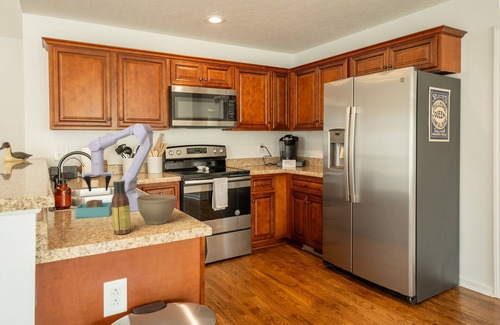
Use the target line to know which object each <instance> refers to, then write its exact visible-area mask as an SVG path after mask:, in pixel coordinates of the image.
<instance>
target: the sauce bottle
mask: <svg viewBox="0 0 500 325" xmlns="http://www.w3.org/2000/svg"><path fill="white" fill-rule="evenodd" d="M112 183H113V184H112V185H113V188H114V189H113V190H114V191H113V193H114V194H113V196H112V198H111V202H112V213H111V214H112V229H113V233H114V235H118V234H119V235H121V236H122V235H127V234H129V233H131V231H132V230H131V228H132V225H131V223H132V222H131V211H130V206H129V199H128V197H127V195H126V193H125V181H124V180H121V179H118V180H113V182H112Z"/></svg>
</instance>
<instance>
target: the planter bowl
mask: <svg viewBox="0 0 500 325" xmlns="http://www.w3.org/2000/svg"><path fill="white" fill-rule="evenodd" d="M176 200H177V196H176V195H174V194H167V193H166V194H164V193H163V194H162V193H155V194H144V195H139V197H137V203H138V209H139V213H140V216H141V217H142V218H143V219H144V223H145V224H147V225H162V224H167V223H168V222H169V220H170V218H171V217H172V215H173V213H174V210H175V208H176Z"/></svg>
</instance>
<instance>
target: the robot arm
mask: <svg viewBox="0 0 500 325" xmlns="http://www.w3.org/2000/svg"><path fill="white" fill-rule="evenodd" d="M154 133H155V132H154V130H153V128H152V126H151V125H149V124H146V123H145V124H142V123H136V124H132V125H130V126H128V127H127V128H124V129H123V130H120V131H118V132H116V133H115V134H114V133H112V132H111V133H109V132H107V133H105V135H104V136H101V137H99V136H98V137H97V139H91V140H90V141H89V142H88V144H87V147H88V150H89V151H90V162H91V167H90V168H91V172H81V178H83V180H84V181H85V183H86V186H87V188H88V192H92V178H93V177H94V178H95V177H104V180H105V181H104V182H105V192H107V191H108V188H109V184H110V181H111V179H112V177H114V171H108V172H107V171H105V162H104V161H105V160H104V152H105V150H106V149H107V148H110V147H112V146H114V145H116V144H117V142H118V141H119V140H122V139H124V138H128V137H129V136H134V137H135V138H136V139H137V140H138V143H139V147H138V149H137V151H136V154H135V155H134V158H133V159H132V161H131V163H130V165H129V167H128V169H127V171H126V173H125V174H124V175H122V177H121V179H120V180H124V181H125V193H126V195H127V197H128V199H129V206H130V212H138V211H139V209H138V203H137V197H139V196H140V192H137V191H135V190H136V188H137V186H138V185H137V184H138V181H139V177H138V175H139V174H140V172H141V170H142V168H143V166H144V163H145V162H146V160H147V158H148V156H149V154H150V152H151V151H152V150H151V149H152V148H153V145H154V142H153V140H154V139H153V137H154Z"/></svg>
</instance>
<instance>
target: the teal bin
mask: <svg viewBox="0 0 500 325" xmlns="http://www.w3.org/2000/svg"><path fill="white" fill-rule="evenodd" d="M74 211H75V216H74V217H75V219H90V218H91V219H92V218H104V217H105V218H107V217H110V216H111V214H112V201H111V202H102V207H92V208H86V203H80V204H79V205H77V206H76V207H75V208H74Z"/></svg>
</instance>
